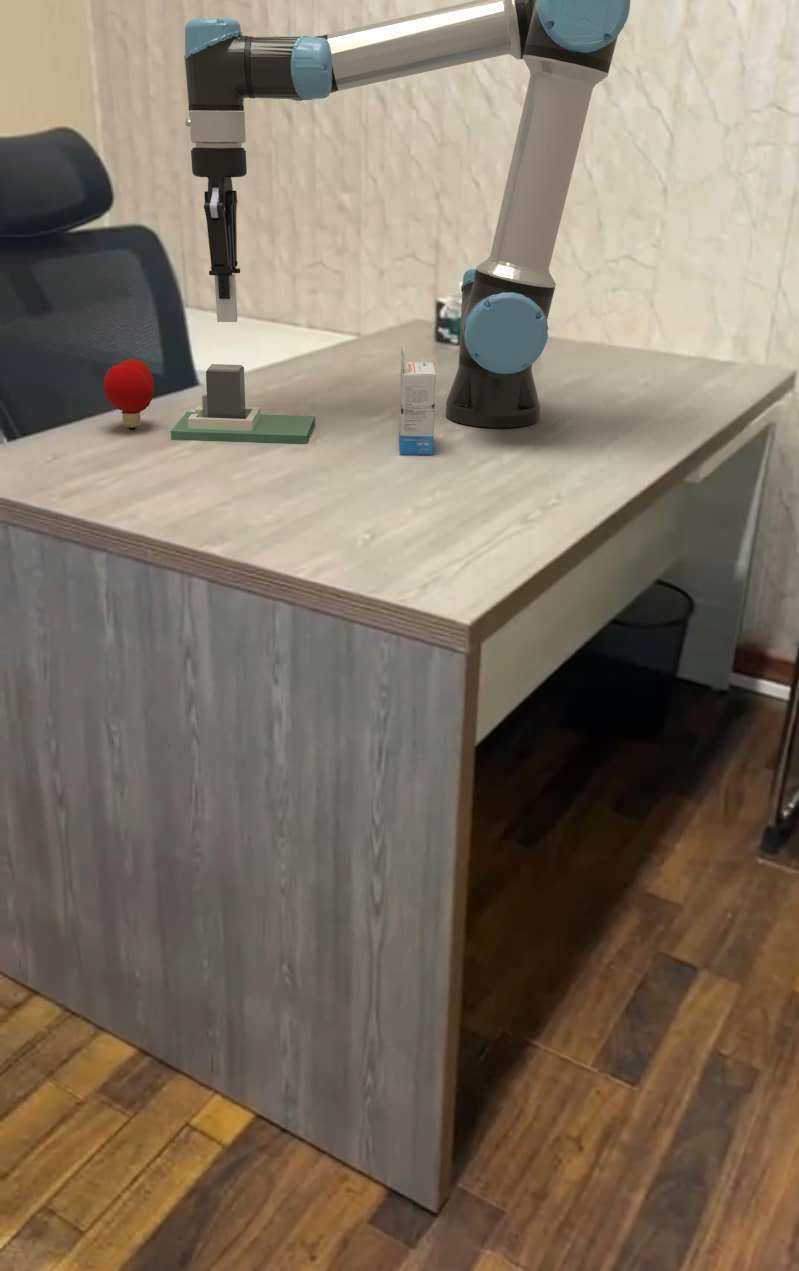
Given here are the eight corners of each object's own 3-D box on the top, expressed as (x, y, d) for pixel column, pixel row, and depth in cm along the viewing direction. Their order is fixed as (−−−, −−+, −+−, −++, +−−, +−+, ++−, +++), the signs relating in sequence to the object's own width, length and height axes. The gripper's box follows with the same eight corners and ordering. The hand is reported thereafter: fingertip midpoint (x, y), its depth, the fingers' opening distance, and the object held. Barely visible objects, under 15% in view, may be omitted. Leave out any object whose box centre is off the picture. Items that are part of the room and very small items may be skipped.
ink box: (434, 456, 166) (438, 352, 160) (399, 455, 166) (402, 351, 160) (430, 440, 174) (434, 340, 168) (397, 439, 174) (400, 340, 168)
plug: (245, 419, 177) (243, 364, 174) (241, 426, 174) (239, 370, 170) (206, 418, 178) (204, 363, 174) (201, 424, 174) (199, 369, 170)
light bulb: (141, 438, 171) (137, 370, 167) (97, 435, 172) (91, 367, 168) (165, 423, 179) (161, 358, 175) (123, 420, 180) (118, 355, 176)
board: (314, 423, 181) (314, 406, 180) (306, 443, 170) (306, 425, 169) (187, 419, 182) (186, 402, 181) (171, 439, 171) (170, 421, 170)
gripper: (200, 144, 166) (209, 313, 175) (181, 147, 154) (193, 328, 164) (252, 144, 166) (259, 314, 175) (237, 147, 154) (246, 329, 163)
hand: (227, 320), depth 169 cm, fingers closed
